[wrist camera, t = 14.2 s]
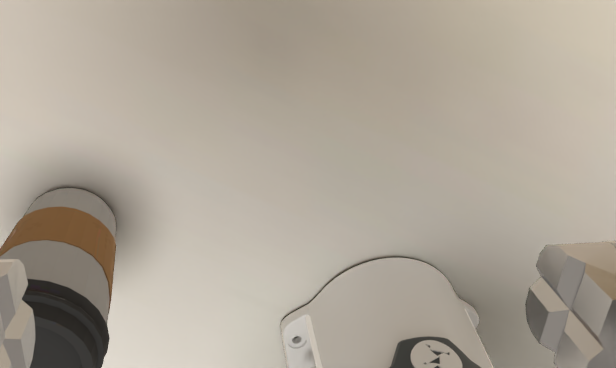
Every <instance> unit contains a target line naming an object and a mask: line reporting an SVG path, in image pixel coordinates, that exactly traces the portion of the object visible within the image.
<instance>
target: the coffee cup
mask: <svg viewBox="0 0 616 368" xmlns="http://www.w3.org/2000/svg"><path fill="white" fill-rule="evenodd" d="M116 228H117V227H116V221H115V217H114V215H113V213H112V211H111V209H110V208H109V207H108V206H107V204H106V203H105V202H104V201H103V200H102V199H101V198H99V197H98V196H96V195H95V194H93V193H91V192H88V191H86V190H83V189H77V188H61V189H56V190H53V191H50V192H47V193H45V194H43V195H42V196H40V197H38V198H37V199H36V200H35V201H34V203H33V204H32V205H31V206H30V207H29V209H28V210H27V212H26V213H25V215H24V216H23V218H22V219H21V220H20V221H19V222H18V223H17V225H16V226H15V228H14V229H13V231H12V232H11V233H10V235H9V236H8V238H7V239H6V241H5V242H4V244H3V245H2V247H1V248H0V259H19V260H20V261H21V262H22V263H23V264H24V267H25V272H26V276H27V281H28V286H27V288H26V290H25V293H24V295H23V297H22V300H23V301H24V302H25V303H26V304H27V305H29V306H30V307H31V308H32V309H33V314H34V320H35V345H34V352H33V359H32V362H31V365H30V368H101V367H102V364H103V359H104V356H105V355H106V353H107V349H108V343H109V334H108V328H107V320H108V314H109V309H110V302H111V294H112V283H113V272H114V261H115V251H116V244H115V238H116Z"/></svg>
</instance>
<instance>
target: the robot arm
mask: <svg viewBox="0 0 616 368" xmlns="http://www.w3.org/2000/svg"><path fill="white" fill-rule="evenodd" d="M536 267H537V269H538V271H539V273H540V275H541V277H540V278H539V279H538V280H537V281H536V282H535V283H534V284H533V285H532V286H531V287H530V288H529V292H528V296H527V300H526V304H525V305H526V315H527V322H528V324H529V327H530V329H531V332H532V333H533V335H534V336H535V338H536V339H537V340H538V342H539V343H540V344H542V345H543V346H545V347H547V348H549V349H550V350H552V351H554V352H555V358H554V364H555V365H556V366H557V368H616V241H605V242H595V243H575V244H555V245H546V246H545V247H544V249H543V250H542V251H541V253H540V255H539V258H538V261H537V264H536ZM27 286H28V281H27V276H26V272H25V267H24V264H23V263H22V262H21V261H20V260H19V259H0V368H30V365H31V362H32V359H33V352H34V345H35V320H34V314H33V309H32V308H31V307H30V306H29V305H27V304H26V303H25V302H24V301H23V300H22V297H23V295H24V293H25V290H26V288H27ZM478 324H479V316H478V314H477V312H476V310H475V309H474V308H473V307H472V306H471V305H470V304H468V303H466V302H465V301H463V300H461V299H460V298H459V297H458V296H457V295H456V293H455V292H454V290H453V288H452V286H451V284H450V282H449V281H448V279H447V278H446V277H445V276H444V275H443V274H442V273H441V272H440V271H439V270H437V269H436V268H434V267H433V266H431V265H429V264H427V263H424V262H421V261H418V260H414V259H408V258H384V259H378V260H373V261H369V262H366V263H363V264H360V265H358V266H355V267H353V268H351V269H349V270H347V271H346V272H344V273H342V274H341V275H339V276H338V277H336V278H335V279H334V280H332V281H331V282H330V283H329V284H328V285H327V286H326V287H325V288H324V289H323V290H322V291H321V292H320V293H319V294H318V295H317V296H316V297H315V298H314V299H313V300H312V301H311V302H310V303H309V304H308V305H306V306H304V307H302V308H300V309H298V310H296V311H294V312H293V313H291V314H289V315H288V316H287V317H285V318H284V319H283V321H282V322H281V326H280V328H281V334H282V340H283V346H284V352H285V358H286V364H287V368H494V367H493V365H492V363H491V361H490V359H489V357H488V354H487V352H486V350H485V348H484V346H483V344H482V342H481V340H480V338H479V336H478V334H477V332H476V328H477V326H478ZM296 336H299V337H298V338H294V337H296Z"/></svg>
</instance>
